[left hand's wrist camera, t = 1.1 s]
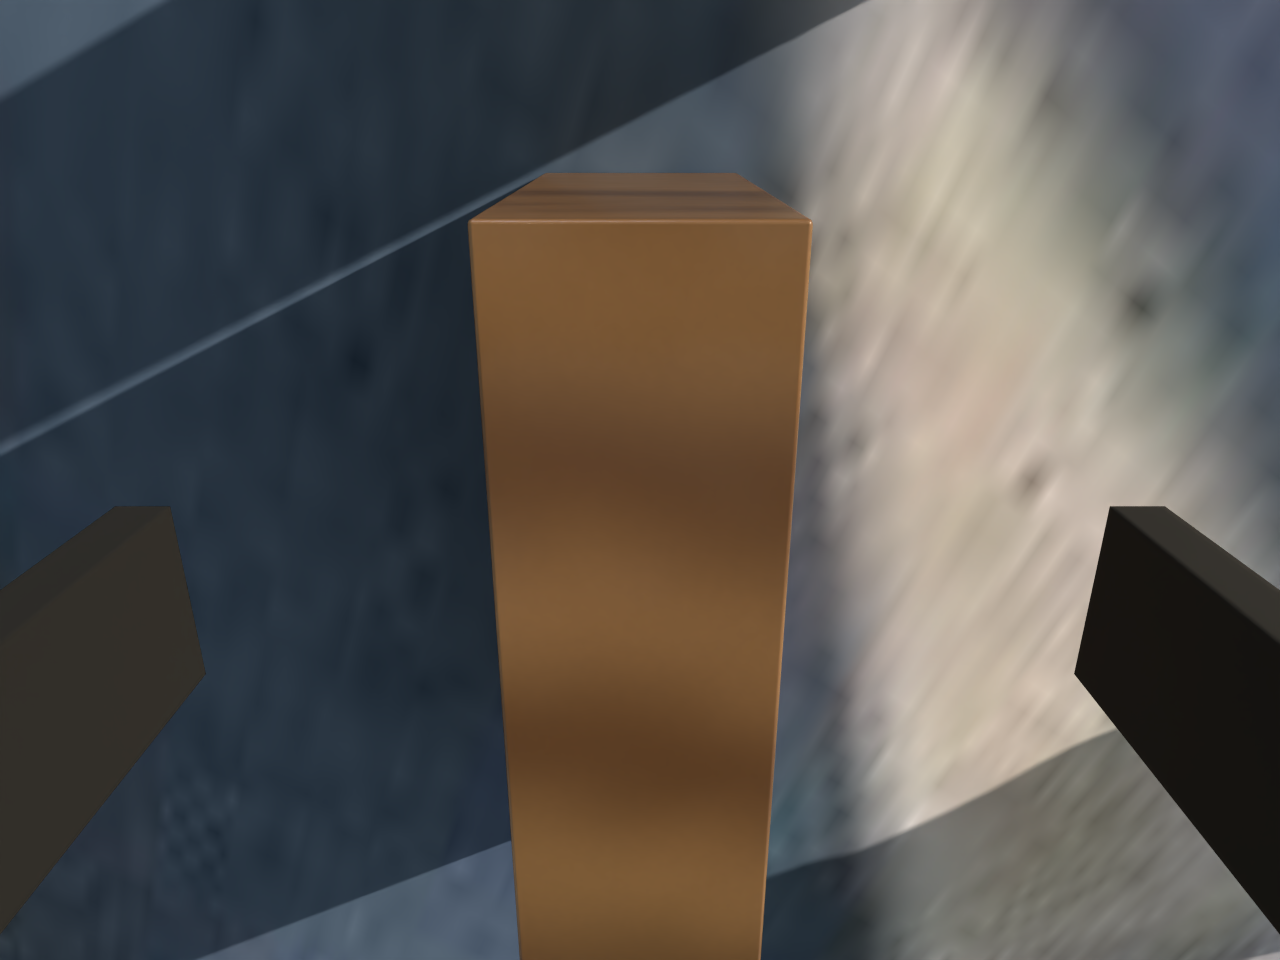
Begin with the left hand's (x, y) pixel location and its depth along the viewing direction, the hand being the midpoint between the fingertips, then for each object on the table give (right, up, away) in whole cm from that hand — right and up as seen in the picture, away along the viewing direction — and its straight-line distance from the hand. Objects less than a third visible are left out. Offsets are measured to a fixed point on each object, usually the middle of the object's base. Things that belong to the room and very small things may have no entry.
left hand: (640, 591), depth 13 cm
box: (0, +1, +19) cm, 19 cm away
